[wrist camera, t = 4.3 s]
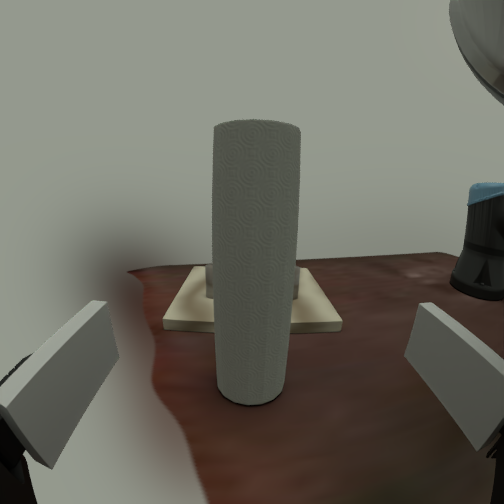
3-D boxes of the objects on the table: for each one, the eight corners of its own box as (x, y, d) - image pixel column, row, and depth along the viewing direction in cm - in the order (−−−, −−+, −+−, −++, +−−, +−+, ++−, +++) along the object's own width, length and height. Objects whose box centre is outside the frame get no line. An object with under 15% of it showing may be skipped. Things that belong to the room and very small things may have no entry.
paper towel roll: (246, 417, 18) (253, 110, 13) (204, 380, 23) (197, 127, 18) (305, 380, 23) (327, 132, 18) (261, 354, 28) (269, 138, 22)
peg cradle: (306, 275, 53) (308, 245, 52) (340, 331, 32) (347, 287, 31) (194, 273, 53) (193, 243, 51) (163, 329, 31) (158, 284, 30)
